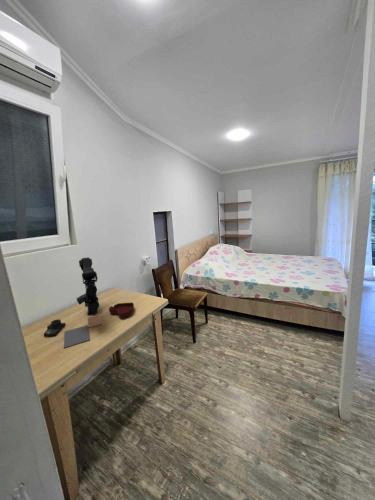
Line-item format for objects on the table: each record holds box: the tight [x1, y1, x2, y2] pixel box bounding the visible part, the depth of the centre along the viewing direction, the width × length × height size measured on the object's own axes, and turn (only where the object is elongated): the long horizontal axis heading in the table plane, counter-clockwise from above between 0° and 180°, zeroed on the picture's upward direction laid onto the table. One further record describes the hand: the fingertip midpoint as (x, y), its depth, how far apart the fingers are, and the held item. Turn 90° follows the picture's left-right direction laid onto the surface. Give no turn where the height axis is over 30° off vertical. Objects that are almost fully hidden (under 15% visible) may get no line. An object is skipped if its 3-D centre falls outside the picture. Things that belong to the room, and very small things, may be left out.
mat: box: [63, 324, 91, 349], centre depth 122 cm, size 18×13×1 cm
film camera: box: [43, 319, 66, 338], centre depth 129 cm, size 13×8×10 cm
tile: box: [87, 314, 103, 328], centre depth 134 cm, size 2×8×6 cm, turn 120°
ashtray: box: [108, 302, 135, 319], centre depth 149 cm, size 18×16×5 cm
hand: (93, 312), depth 133 cm, fingers open, 9 cm apart
